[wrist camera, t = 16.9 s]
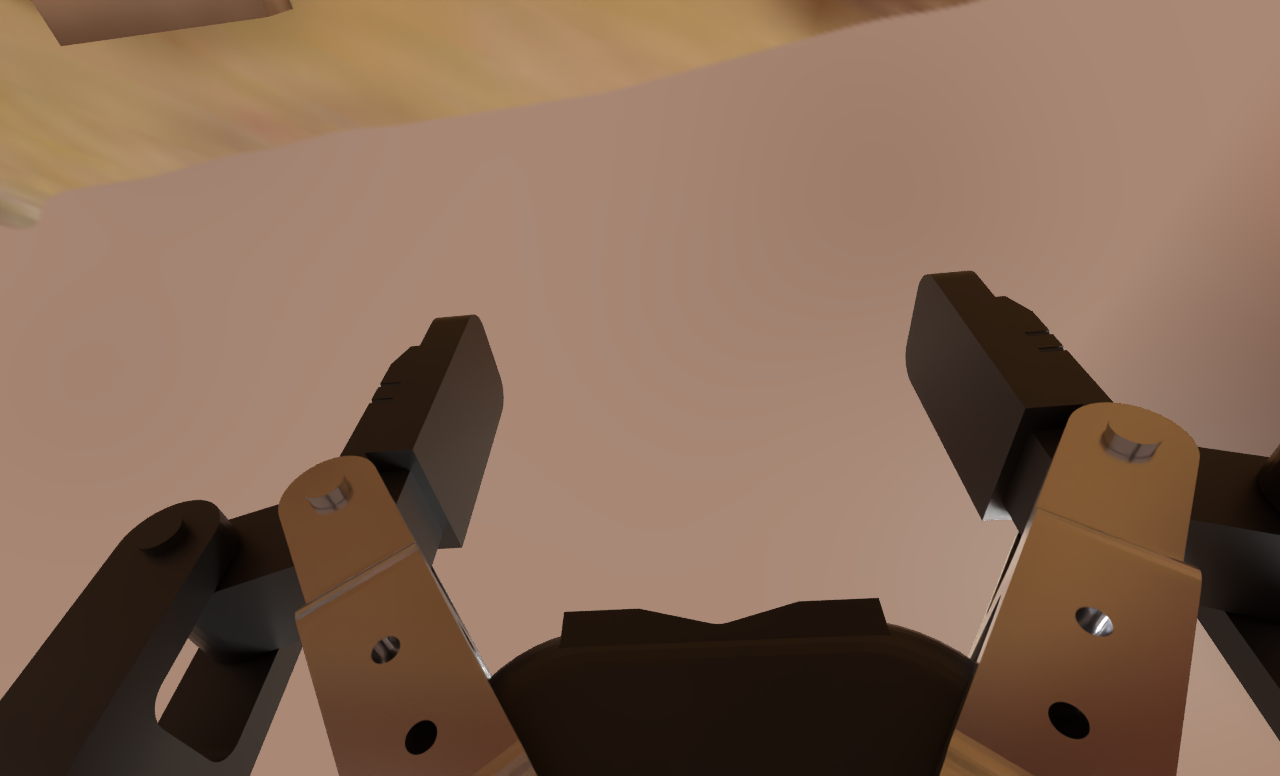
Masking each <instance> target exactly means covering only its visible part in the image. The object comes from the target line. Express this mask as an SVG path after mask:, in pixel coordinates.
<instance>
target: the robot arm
mask: <svg viewBox="0 0 1280 776" xmlns="http://www.w3.org/2000/svg"><path fill="white" fill-rule="evenodd" d="M906 367H907V373H908V376H909V379H910V381H911V384H912V385H913V387H914V389H915V391H916V393H917V395H918V397H919V399H920V401H921V403H922V405H923V407H924V409H925V411H926V413H927V415H928V417H929V418H930V420H931V422H932V424H933V426H934V428H935V430H936V432H937V434H938V436H939V437H940V440H941V442H942V443H943V445H944V448H945V449H946V451H947V453H948V455H949V457H950V459H951V461H952V463H953V465H954V467H955V469H956V471H957V473H958V475H959V477H960V478H961V480H962V482H963V484H964V486H965V488H966V490H967V492H968V494H969V496H970V498H971V500H972V502H973V504H974V506H975V507H976V509H977V511H978V513H979V515H980V517H981V519H982V521H988V520H1005V519H1012V520H1013V522H1014V524H1015V525H1016V527H1017V529H1018V533H1017V535H1016V537H1015V539H1014V541H1013V544H1012V546H1011V549H1010V552H1009V554H1008V557H1007V559H1006V562H1005V564H1004V567H1003V569H1002V572H1001V574H1000V577H999V580H998V582H997V585H996V588H995V590H994V592H993V595H992V598H991V600H990V603H989V605H988V608H987V611H986V613H985V616H984V618H983V621H982V623H981V626H980V628H979V631H978V633H977V636H976V638H975V640H974V643H973V645H972V647H971V650H970V652H969V655H968V657H967V656H965V655H963V654H962V653H961V652H959V651H957V650H955V649H954V648H952V647H950V646H948V645H946V644H944V643H942V642H941V641H939V640H936V639H934V638H932V637H929V636H927V635H925V634H922V633H920V632H917V631H914V630H911V629H908V628H904V627H901V626H898V625H893V624H889V623H886V620H885V617H884V614H883V610H882V607H881V604H880V601H879V598H869V599H847V600H823V601H801V602H796V603H792V604H789V605H786V606H782V607H779V608H776V609H772V610H769V611H765V612H762V613H759V614H755V615H752V616H749V617H745V618H742V619H739V620H735V621H732V622H729V623H724V624H711V623H706V622H701V621H696V620H691V619H687V618H682V617H677V616H672V615H667V614H662V613H657V612H652V611H647V610H642V609H622V610H600V611H577V612H564V618H563V626H562V634H561V636H560V637H557V638H554V639H551V640H549V641H546V642H544V643H542V644H539V645H537V646H535V647H533V648H531V649H529V650H528V651H526V652H524V653H522V654H521V655H519V656H517V657H516V658H514V659H513V660H512V661H510V662H509V663H508V664H506V665H505V666H503V667H502V668H501V669H500V670H498V671H497V672H496V673H495V674H494V675H493V676H492V674H491V673H490V671H489V669H488V667H487V666H486V664H485V662H484V660H483V659H482V657H481V655H480V653H479V651H478V649H477V648H476V646H475V644H474V642H473V640H472V639H471V636H470V635H469V633H468V631H467V629H466V627H465V625H464V624H463V622H462V620H461V618H460V616H459V614H458V612H457V611H456V609H455V607H454V605H453V603H452V601H451V599H450V598H449V596H448V594H447V592H446V590H445V589H444V587H443V585H442V583H441V581H440V579H439V577H438V575H437V574H436V572H435V570H434V568H433V567H432V564H433V561H434V557H435V555H436V552H437V549H444V548H461V547H462V546H463V542H464V539H465V536H466V532H467V529H468V526H469V522H470V519H471V515H472V512H473V509H474V505H475V502H476V498H477V495H478V491H479V488H480V485H481V481H482V478H483V475H484V471H485V468H486V464H487V461H488V458H489V454H490V451H491V447H492V444H493V441H494V437H495V434H496V430H497V427H498V423H499V420H500V417H501V413H502V409H503V398H504V397H503V386H502V381H501V378H500V375H499V372H498V369H497V366H496V363H495V360H494V357H493V354H492V351H491V348H490V345H489V342H488V339H487V336H486V333H485V330H484V327H483V324H482V322H481V320H480V319H479V317H478V316H476V315H464V316H453V317H442V318H436V319H434V320H433V322H432V324H431V325H430V327H429V329H428V331H427V333H426V335H425V337H424V339H423V341H422V343H421V345H420V346H412V347H410V348H409V349H408V350H407V351H405V352H404V353H403V354H402V355H401V356H400V357H399V358H398V359H396V360H395V361H394V362H393V363H392V364H391V366H390V367H389V369H388V371H387V373H386V374H385V376H384V378H383V380H382V382H381V387H379V388H378V389H377V391H376V392H375V394H374V396H373V398H372V403H370V404H369V405H368V407H367V408H366V410H365V412H364V414H363V416H362V417H361V419H360V421H359V423H358V425H357V426H356V428H355V430H354V432H353V434H352V436H351V437H350V439H349V441H348V443H347V444H346V447H345V448H344V450H343V452H342V453H341V455H340V457H337V458H333V459H330V460H327V461H324V462H322V463H319V464H317V465H315V466H314V467H312V468H310V469H309V470H307V471H305V472H304V473H303V474H301V475H300V476H299V477H298V478H296V479H295V480H294V481H293V482H292V483H291V484H290V485H289V487H288V488H287V489H286V491H285V492H284V494H283V495H282V497H281V500H280V502H279V504H278V505H275V506H272V507H269V508H265V509H262V510H259V511H256V512H252V513H249V514H246V515H243V516H239V517H236V518H233V519H230V520H228V519H227V518H226V516H225V515H224V514H223V513H222V512H221V511H220V510H219V509H218V507H217V506H216V505H215V504H213V503H211V502H208V501H204V500H192V501H186V502H182V503H178V504H175V505H173V506H170V507H167V508H165V509H163V510H161V511H159V512H157V513H155V514H154V515H152V516H150V517H149V518H147V519H146V520H144V521H143V522H141V523H140V524H139V525H137V526H136V527H135V528H134V529H132V530H131V531H130V532H129V533H128V534H127V535H126V536H125V537H124V538H123V540H122V541H121V542H120V543H119V545H118V546H117V547H116V548H115V550H114V551H113V552H112V554H111V555H110V556H109V558H108V559H107V560H106V562H105V563H104V564H103V565H102V567H101V568H100V569H99V571H98V572H97V573H96V575H95V576H94V577H93V579H92V580H91V581H90V583H89V584H88V586H87V587H86V588H85V589H84V591H83V592H82V593H81V595H80V596H79V597H78V599H77V600H76V601H75V602H74V604H73V605H72V606H71V608H70V609H69V611H68V612H67V613H66V614H65V616H64V617H63V618H62V620H61V621H60V622H59V624H58V625H57V626H56V628H55V629H54V630H53V632H52V633H51V634H50V636H49V637H48V638H47V640H46V641H45V642H44V644H43V645H42V646H41V648H40V649H39V650H38V652H37V653H36V655H34V657H33V658H32V659H31V661H30V662H29V663H28V665H27V666H26V667H25V669H24V670H23V671H22V673H21V674H20V675H19V677H18V678H17V679H16V681H15V682H14V683H13V685H12V686H11V687H10V689H9V690H8V691H7V692H6V694H5V695H4V697H3V698H2V699H1V700H0V776H250V774H251V772H252V769H253V767H254V764H255V762H256V759H257V757H258V754H259V752H260V750H261V747H262V745H263V742H264V740H265V737H266V735H267V732H268V730H269V727H270V725H271V722H272V720H273V718H274V715H275V713H276V710H277V708H278V705H279V703H280V700H281V698H282V696H283V693H284V691H285V688H286V686H287V683H288V681H289V678H290V676H291V673H292V671H293V669H294V666H295V663H296V661H297V659H298V656H299V654H300V651H301V649H302V647H303V650H304V654H305V657H306V661H307V664H308V667H309V671H310V675H311V678H312V682H313V685H314V688H315V692H316V696H317V699H318V703H319V707H320V710H321V713H322V717H323V720H324V724H325V727H326V731H327V734H328V738H329V742H330V745H331V748H332V752H333V756H334V759H335V763H336V766H337V770H338V773H339V776H1176V773H1177V766H1178V758H1179V751H1180V742H1181V736H1182V728H1183V720H1184V713H1185V705H1186V697H1187V691H1188V683H1189V676H1190V668H1191V661H1192V653H1193V645H1194V638H1195V630H1196V623H1197V618H1198V620H1199V621H1200V623H1201V624H1202V626H1203V627H1204V629H1205V630H1206V632H1207V633H1208V635H1209V636H1210V638H1211V639H1212V641H1213V642H1214V644H1215V645H1216V647H1217V648H1218V650H1219V651H1220V653H1221V654H1222V656H1223V657H1224V659H1225V660H1226V662H1227V663H1228V664H1229V666H1230V667H1231V669H1232V670H1233V672H1234V673H1235V675H1236V676H1237V678H1238V679H1239V681H1240V682H1241V684H1242V685H1243V687H1244V688H1245V690H1246V691H1247V693H1248V694H1249V696H1250V697H1251V699H1252V700H1253V702H1254V703H1255V705H1256V706H1257V708H1258V709H1259V711H1260V712H1261V714H1262V715H1263V716H1264V718H1265V720H1266V721H1267V723H1268V724H1269V726H1270V727H1271V729H1272V730H1273V732H1274V733H1275V735H1276V736H1277V738H1278V739H1279V741H1280V444H1279V446H1278V447H1277V448H1276V450H1275V451H1274V452H1273V453H1272V455H1271V456H1270V457H1264V456H1257V455H1250V454H1243V453H1236V452H1229V451H1221V450H1215V449H1208V448H1201V447H1198V446H1197V444H1196V443H1195V441H1194V440H1193V438H1192V437H1191V436H1190V435H1189V434H1188V433H1187V432H1186V431H1185V430H1184V429H1183V428H1181V427H1180V426H1179V425H1177V424H1176V423H1174V422H1173V421H1171V420H1169V419H1167V418H1166V417H1163V416H1162V415H1160V414H1157V413H1155V412H1152V411H1150V410H1147V409H1144V408H1140V407H1137V406H1133V405H1128V404H1121V403H1113V401H1112V400H1111V399H1110V398H1109V397H1108V396H1107V395H1106V394H1105V392H1104V391H1103V390H1102V389H1101V388H1100V387H1099V386H1098V385H1097V383H1096V382H1095V381H1094V380H1093V379H1092V378H1091V377H1090V376H1089V374H1088V373H1087V372H1086V371H1085V370H1084V369H1083V368H1082V367H1081V365H1080V364H1078V362H1077V361H1076V360H1075V359H1074V358H1073V356H1072V355H1071V354H1070V353H1069V352H1068V351H1067V350H1063V345H1062V344H1061V343H1060V342H1059V341H1058V340H1057V339H1056V337H1055V336H1054V335H1053V334H1049V330H1048V328H1047V327H1046V326H1045V325H1044V324H1043V323H1042V322H1041V321H1040V319H1039V318H1038V317H1037V316H1036V315H1035V314H1034V313H1033V311H1030V310H1029V309H1027V308H1025V307H1024V306H1022V305H1020V304H1018V303H1016V302H1015V301H1013V300H1011V299H1009V298H1008V297H1006V296H1002V297H995V296H994V295H993V294H992V292H990V290H989V289H988V288H987V286H986V285H985V284H984V283H983V282H982V280H981V279H980V278H979V277H978V275H977V274H976V273H975V272H973V271H961V272H949V273H939V274H927V275H925V276H923V278H922V279H921V281H920V283H919V286H918V291H917V296H916V301H915V306H914V311H913V316H912V321H911V326H910V331H909V336H908V341H907V346H906ZM187 639H190V640H191V641H192V642H193V643H194V644H195V645H197V646H198V647H199V648H198V650H197V652H196V654H195V656H194V658H193V659H192V661H191V663H190V665H189V667H188V669H187V670H186V672H185V674H184V676H183V678H182V680H181V682H180V683H179V685H178V687H177V689H176V691H175V693H174V695H173V696H172V698H171V700H170V702H169V704H168V705H167V707H166V709H165V711H164V713H163V715H162V717H161V718H160V720H159V722H158V723H157V720H156V718H155V701H156V697H157V693H158V691H159V689H160V687H161V684H162V683H163V681H164V679H165V677H166V676H167V674H168V672H169V670H170V668H171V667H172V665H173V663H174V662H175V660H176V658H177V656H178V654H179V653H180V651H181V649H182V647H183V645H184V644H185V642H186V640H187Z"/></svg>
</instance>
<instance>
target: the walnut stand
mask: <svg viewBox="0 0 1280 776" xmlns="http://www.w3.org/2000/svg"><path fill="white" fill-rule="evenodd" d="M32 2H33V3H34V5H35V6H36V8H37V10H38V11H39V13H40V14H41V16H42V17H43V19H44V20H45V22H46V24H47V25H48V27H49V28H50V30H51V31H52V33H53V34H54V36H55V38H56V39H57V41H58V42H59V44H60V45H61V46H65V45H72V44H80V43H87V42H94V41H101V40H108V39H115V38H122V37H129V36H136V35H143V34H150V33H157V32H164V31H171V30H178V29H185V28H192V27H199V26H206V25H214V24H221V23H228V22H235V21H242V20H249V19H256V18H263V17H269V16H272V15H275V14H278V13H281V12H284V11H287V10H290V9H293V8H292V5H291V3H290V1H289V0H32Z"/></svg>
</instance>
